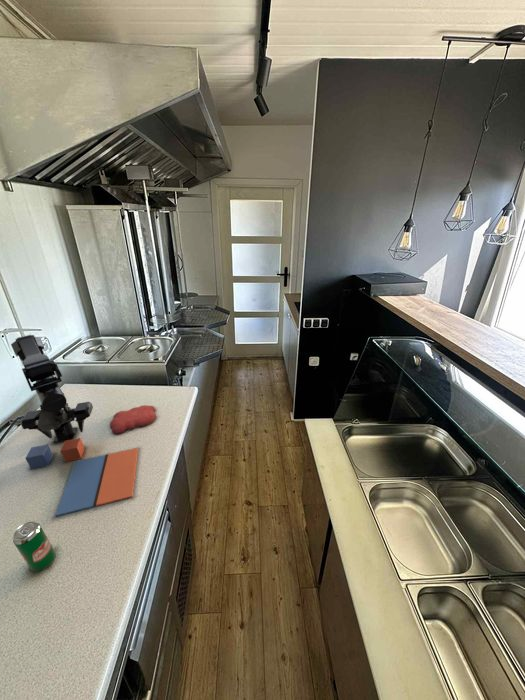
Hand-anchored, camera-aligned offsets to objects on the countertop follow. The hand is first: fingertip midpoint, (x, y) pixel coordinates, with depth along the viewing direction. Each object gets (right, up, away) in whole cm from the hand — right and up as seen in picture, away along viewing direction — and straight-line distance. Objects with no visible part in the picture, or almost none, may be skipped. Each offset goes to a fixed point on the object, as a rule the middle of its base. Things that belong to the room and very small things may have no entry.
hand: (66, 434), depth 96 cm
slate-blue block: (-9, -10, +1) cm, 14 cm away
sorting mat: (+15, -13, -5) cm, 20 cm away
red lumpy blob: (+13, 0, +21) cm, 25 cm away
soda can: (+13, -23, -26) cm, 37 cm away
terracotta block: (0, -8, +4) cm, 9 cm away
